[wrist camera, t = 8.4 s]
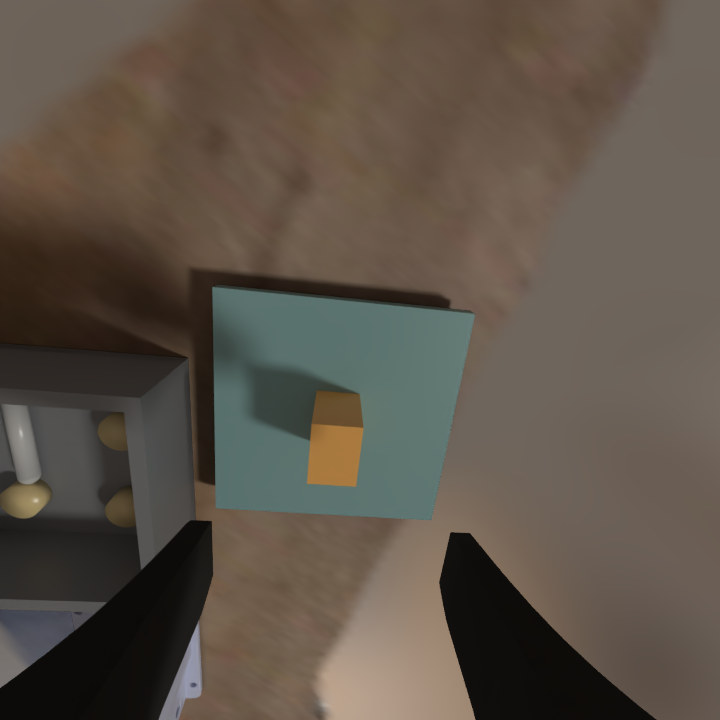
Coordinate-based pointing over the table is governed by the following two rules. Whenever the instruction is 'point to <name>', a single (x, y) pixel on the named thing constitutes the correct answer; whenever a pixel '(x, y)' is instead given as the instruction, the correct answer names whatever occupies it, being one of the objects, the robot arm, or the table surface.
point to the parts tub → (88, 471)
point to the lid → (333, 402)
